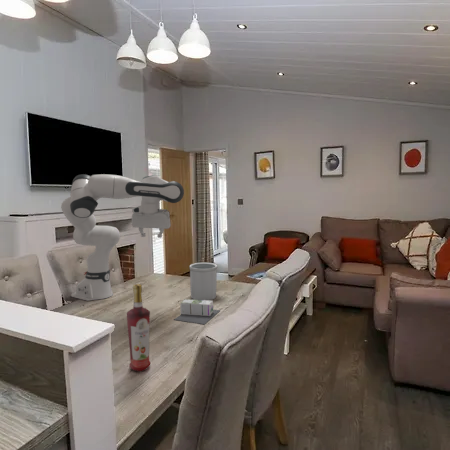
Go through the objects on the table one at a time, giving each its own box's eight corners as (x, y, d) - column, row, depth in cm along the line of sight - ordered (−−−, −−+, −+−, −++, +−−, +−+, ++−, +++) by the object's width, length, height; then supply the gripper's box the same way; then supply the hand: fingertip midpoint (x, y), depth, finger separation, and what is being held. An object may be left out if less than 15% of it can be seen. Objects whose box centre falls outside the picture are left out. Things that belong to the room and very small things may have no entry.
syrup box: (180, 314, 164) (210, 317, 161) (180, 302, 163) (210, 304, 160) (184, 310, 169) (213, 312, 166) (184, 298, 168) (213, 300, 166)
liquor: (133, 376, 111) (130, 289, 108) (125, 366, 117) (122, 284, 114) (155, 369, 115) (152, 285, 112) (146, 360, 121) (143, 281, 118)
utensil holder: (221, 299, 187) (221, 266, 185) (194, 302, 181) (193, 269, 179) (212, 291, 200) (211, 261, 198) (186, 294, 195) (186, 263, 193)
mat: (174, 320, 158) (174, 319, 158) (192, 307, 174) (192, 306, 174) (204, 324, 152) (204, 323, 152) (220, 310, 169) (220, 310, 169)
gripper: (172, 208, 169) (173, 237, 171) (137, 208, 177) (137, 235, 178) (165, 209, 164) (166, 239, 165) (129, 208, 171) (130, 237, 172)
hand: (151, 237), depth 172 cm, fingers open, 8 cm apart
